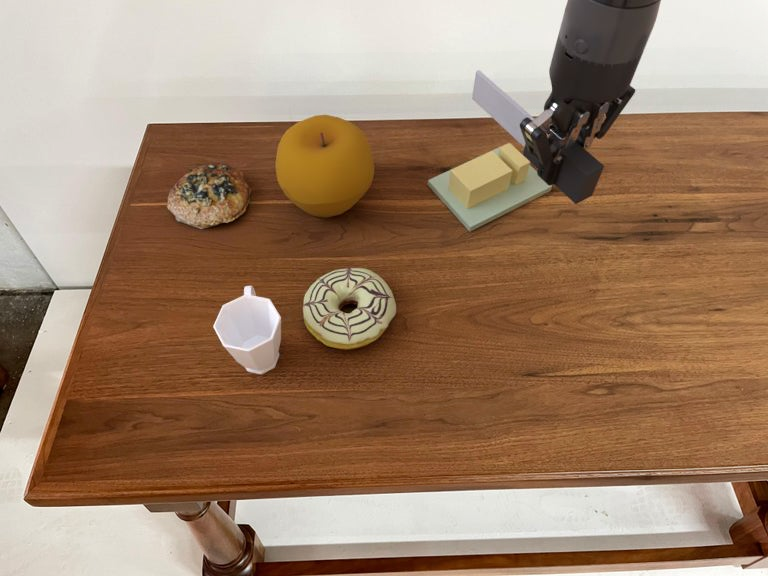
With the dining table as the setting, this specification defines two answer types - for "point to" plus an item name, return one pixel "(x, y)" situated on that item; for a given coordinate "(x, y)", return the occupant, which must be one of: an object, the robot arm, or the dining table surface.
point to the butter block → (480, 179)
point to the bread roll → (209, 196)
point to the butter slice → (514, 162)
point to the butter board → (493, 205)
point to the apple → (324, 165)
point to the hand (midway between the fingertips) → (556, 174)
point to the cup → (250, 331)
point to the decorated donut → (346, 289)
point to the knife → (577, 163)
